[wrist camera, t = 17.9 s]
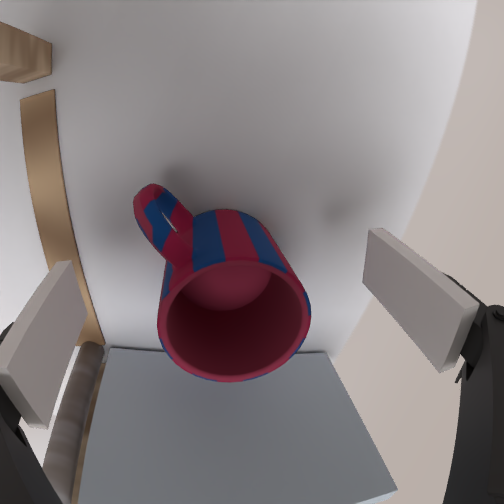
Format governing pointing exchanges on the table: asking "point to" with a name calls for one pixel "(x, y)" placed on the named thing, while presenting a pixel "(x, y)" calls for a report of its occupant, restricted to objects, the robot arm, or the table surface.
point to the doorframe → (55, 255)
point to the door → (228, 437)
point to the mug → (222, 291)
